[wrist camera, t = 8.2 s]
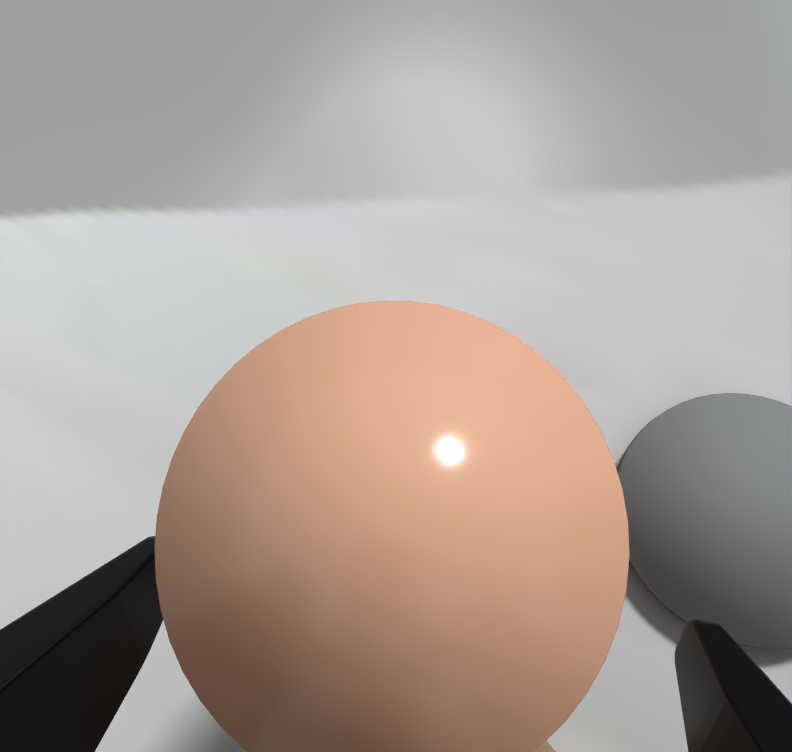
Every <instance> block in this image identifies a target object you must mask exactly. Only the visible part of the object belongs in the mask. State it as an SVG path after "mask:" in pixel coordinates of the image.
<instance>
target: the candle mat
mask: <svg viewBox="0 0 792 752" xmlns="http://www.w3.org/2000/svg"><path fill="white" fill-rule="evenodd" d="M618 476H619V479H620V482H621V486H622V490H623V496H624V501H625V507H626V513H627V518H628V533H629V561H630V563H631V564H632V566H633V568H634V569H635V571H636V573H637V575H638V576H639V577H640V579H641V580H642V581H643V583H644V584H645V585H646V586H647V588H648V589H649V590H650V591H651V592H652V593H653V594H654V595H655V596H656V597H657V599H658V600H659V601H660V602H661V603H663V604H664V605H665V606H666V607H667V608H669V609H670V610H671V611H672V612H673V613H675V614H676V615H677V616H679V617H680V618H682V619H684V620H685V621H688V620H689V619H690V618H700V619H707V620H713V621H716V622H718V623H719V624H721V625H722V626H723V627H724V628H725V629H726V631H727V632H728V633H729V634H730V635H731V636H732V637H733V638H734V639H735V641H736V642H737V643H738V644H741V645H745V646H749V647H755V648H764V649H792V406H789V405H787V404H784V403H782V402H779V401H776V400H772V399H769V398H765V397H761V396H755V395H749V394H735V393H724V394H712V395H707V396H702V397H697V398H694V399H691V400H688V401H685V402H682V403H680V404H678V405H676V406H674V407H672V408H670V409H668V410H667V411H665V412H664V413H662V414H661V415H659V416H658V417H656V418H655V419H653V420H652V421H651V422H650V423H648V424H647V425H646V426H645V427H644V428H643V429H642V430H641V431H640V432H639V433H638V435H637V436H636V437H635V438H634V440H633V441H632V442H631V444H630V445H629V447H628V449H627V450H626V452H625V454H624V456H623V459H622V461H621V464H620V466H619V469H618Z"/></svg>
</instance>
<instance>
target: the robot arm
mask: <svg viewBox="0 0 792 752" xmlns="http://www.w3.org/2000/svg"><path fill="white" fill-rule="evenodd" d="M162 621H163V616H162V613H161V608H160V602H159V596H158V589H157V583H156V571H155V536H151V537H148V538H146V539H145V540H143V541H141V542H140V543H138V544H137V545H135V546H133V547H132V548H130V549H129V550H127V551H125V552H124V553H122V554H121V555H119V556H117V557H116V558H114V559H113V560H111V561H109V562H108V563H106V564H105V565H103V566H101V567H100V568H98V569H97V570H95V571H93V572H92V573H90V574H89V575H87V576H85V577H84V578H82V579H81V580H79V581H77V582H76V583H74V584H73V585H71V586H69V587H68V588H66V589H65V590H63V591H61V592H60V593H58V594H57V595H55V596H53V597H52V598H50V599H49V600H47V601H45V602H44V603H42V604H41V605H39V606H37V607H36V608H34V609H33V610H31V611H29V612H28V613H26V614H25V615H23V616H21V617H20V618H18V619H17V620H15V621H13V622H12V623H10V624H9V625H7V626H5V627H4V628H2V629H1V630H0V752H95V750H96V748H97V747H98V745H99V743H100V741H101V739H102V738H103V736H104V734H105V732H106V730H107V729H108V727H109V725H110V723H111V721H112V720H113V718H114V716H115V714H116V712H117V711H118V709H119V707H120V705H121V703H122V702H123V700H124V698H125V696H126V695H127V693H128V691H129V689H130V687H131V686H132V684H133V682H134V680H135V678H136V677H137V675H138V673H139V671H140V669H141V667H142V665H143V663H144V661H145V659H146V657H147V655H148V653H149V651H150V649H151V647H152V644H153V642H154V640H155V637H156V635H157V633H158V631H159V628H160V626H161V624H162ZM675 667H676V673H677V680H678V686H679V693H680V699H681V706H682V712H683V719H684V726H685V732H686V739H687V745H688V751H689V752H792V703H791V702H790V701H789V700H788V699H787V698H786V697H785V696H784V694H783V693H782V692H781V691H780V690H779V689H778V688H777V687H776V685H775V684H774V683H773V682H772V681H771V680H770V679H769V678H768V676H767V675H766V674H765V673H764V672H763V671H762V670H761V669H760V668H759V666H758V665H757V664H756V663H755V662H754V661H753V660H752V659H751V657H750V656H749V655H748V654H747V653H746V652H745V651H744V650H743V648H742V647H741V646H740V645H739V644H738V643H737V642H736V641H735V639H734V638H733V637H732V636H731V635H730V634H729V633H728V632H727V631H726V629H725V628H724V627H723V626H722V625H721V624H719V623H718V622H716V621H713V620H707V619H700V618H690V619H689V620H688V621H687V622H686V624H685V627H684V629H683V632H682V634H681V637H680V639H679V642H678V644H677V646H676V650H675Z"/></svg>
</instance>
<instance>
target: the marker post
mask: <svg viewBox="0 0 792 752" xmlns="http://www.w3.org/2000/svg"><path fill="white" fill-rule="evenodd" d="M628 567H629V533H628V518H627V513H626V507H625V501H624V496H623V490H622V486H621V482H620V479H619V476H618V473H617V470H616V466H615V463H614V460H613V457H612V454H611V452H610V450H609V448H608V446H607V443H606V441H605V439H604V437H603V435H602V433H601V430H600V428H599V426H598V425H597V423H596V421H595V420H594V418H593V416H592V415H591V413H590V412H589V410H588V408H587V407H586V405H585V404H584V402H583V400H582V399H581V398H580V397H579V395H578V394H577V393H576V392H575V390H574V389H573V388H572V387H571V385H570V384H569V383H568V382H567V381H566V379H565V378H564V377H563V376H562V375H561V374H560V373H559V372H558V371H557V370H556V369H555V368H554V367H553V366H552V365H551V364H550V363H549V362H548V361H547V360H546V359H545V358H543V357H542V356H541V355H540V354H539V353H538V352H536V351H535V350H533V349H532V348H531V347H529V346H528V345H527V344H525V343H524V342H523V341H521V340H520V339H519V338H517V337H516V336H514V335H512V334H510V333H508V332H507V331H505V330H503V329H501V328H500V327H498V326H496V325H494V324H492V323H490V322H488V321H485V320H483V319H480V318H478V317H475V316H473V315H471V314H468V313H466V312H462V311H458V310H455V309H451V308H447V307H443V306H440V305H434V304H427V303H420V302H413V301H377V302H368V303H358V304H353V305H349V306H344V307H340V308H335V309H331V310H328V311H325V312H322V313H319V314H317V315H314V316H311V317H308V318H305V319H303V320H301V321H299V322H297V323H295V324H293V325H291V326H289V327H287V328H285V329H283V330H281V331H279V332H278V333H276V334H275V335H273V336H272V337H270V338H268V339H267V340H265V341H264V342H262V343H261V344H259V345H258V346H256V347H255V348H254V349H253V350H252V351H250V352H249V353H248V354H247V355H246V356H244V357H243V358H242V359H241V360H239V361H238V362H237V363H236V364H235V365H234V366H233V367H232V368H231V369H230V370H229V371H228V372H227V373H226V374H225V375H224V376H223V377H222V378H221V379H220V381H219V382H218V383H217V384H216V385H215V386H214V388H213V389H212V390H211V391H210V393H209V394H208V395H207V397H206V398H205V399H204V401H203V402H202V403H201V405H200V406H199V407H198V409H197V411H196V412H195V414H194V416H193V417H192V419H191V421H190V423H189V424H188V426H187V428H186V429H185V431H184V433H183V435H182V437H181V440H180V442H179V444H178V446H177V448H176V451H175V453H174V455H173V457H172V460H171V463H170V466H169V469H168V473H167V476H166V479H165V482H164V485H163V489H162V494H161V499H160V504H159V509H158V514H157V523H156V536H155V571H156V583H157V589H158V596H159V602H160V608H161V613H162V616H163V620H164V623H165V626H166V630H167V633H168V637H169V640H170V643H171V645H172V648H173V650H174V652H175V655H176V657H177V659H178V661H179V664H180V666H181V668H182V671H183V673H184V674H185V676H186V678H187V679H188V681H189V683H190V684H191V686H192V688H193V689H194V691H195V693H196V694H197V696H198V698H199V699H200V701H201V702H202V703H203V705H204V706H205V707H206V708H207V710H208V711H209V712H210V713H211V715H212V716H213V717H214V718H215V720H216V721H217V722H218V723H219V725H220V726H221V727H222V728H223V729H224V730H225V731H226V732H227V733H228V734H229V735H231V736H232V737H233V738H234V739H235V740H236V741H237V742H238V743H239V744H240V745H241V746H242V747H243V748H244V749H245V750H247V751H248V752H533V751H535V750H536V749H537V748H539V747H540V746H541V745H542V744H543V743H544V742H545V741H546V740H547V739H548V738H549V737H550V736H551V735H552V734H553V733H554V732H555V731H556V730H557V729H558V728H559V727H560V726H561V725H562V724H563V723H565V722H566V720H567V719H568V718H569V716H570V715H571V714H572V712H573V711H574V710H575V708H576V707H577V706H578V704H579V703H580V702H581V700H582V699H583V698H584V696H585V695H586V694H587V693H588V691H589V689H590V687H591V685H592V684H593V682H594V680H595V678H596V676H597V675H598V673H599V671H600V669H601V667H602V665H603V664H604V662H605V660H606V657H607V655H608V652H609V649H610V647H611V644H612V641H613V639H614V636H615V634H616V631H617V628H618V625H619V621H620V617H621V612H622V608H623V603H624V599H625V595H626V589H627V578H628Z"/></svg>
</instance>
